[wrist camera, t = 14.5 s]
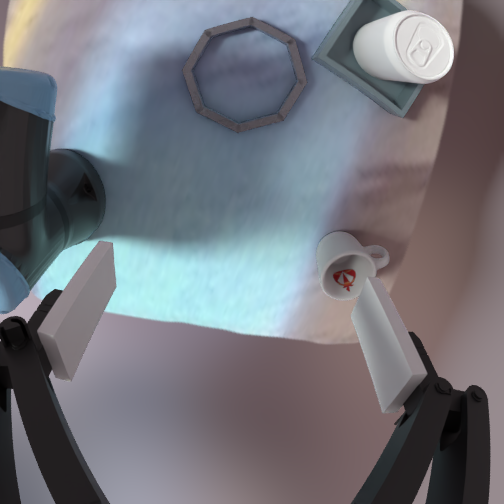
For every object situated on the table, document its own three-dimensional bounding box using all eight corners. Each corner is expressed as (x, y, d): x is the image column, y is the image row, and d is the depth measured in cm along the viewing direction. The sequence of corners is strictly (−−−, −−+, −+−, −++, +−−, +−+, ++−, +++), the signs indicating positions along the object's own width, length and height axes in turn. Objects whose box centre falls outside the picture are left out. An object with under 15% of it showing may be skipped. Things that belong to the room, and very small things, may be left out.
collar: (169, 98, 37) (167, 98, 36) (222, 5, 31) (221, 3, 29) (266, 145, 40) (266, 148, 39) (321, 57, 34) (324, 56, 33)
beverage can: (417, 48, 32) (468, 46, 22) (389, 91, 36) (436, 100, 25) (369, 11, 30) (411, -7, 20) (339, 55, 34) (374, 49, 23)
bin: (311, 59, 34) (317, 57, 31) (358, -12, 29) (369, -19, 25) (390, 113, 38) (403, 118, 34) (432, 46, 32) (447, 45, 29)
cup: (375, 215, 46) (396, 241, 39) (378, 259, 49) (395, 289, 43) (306, 230, 47) (316, 259, 40) (314, 274, 51) (323, 306, 44)
